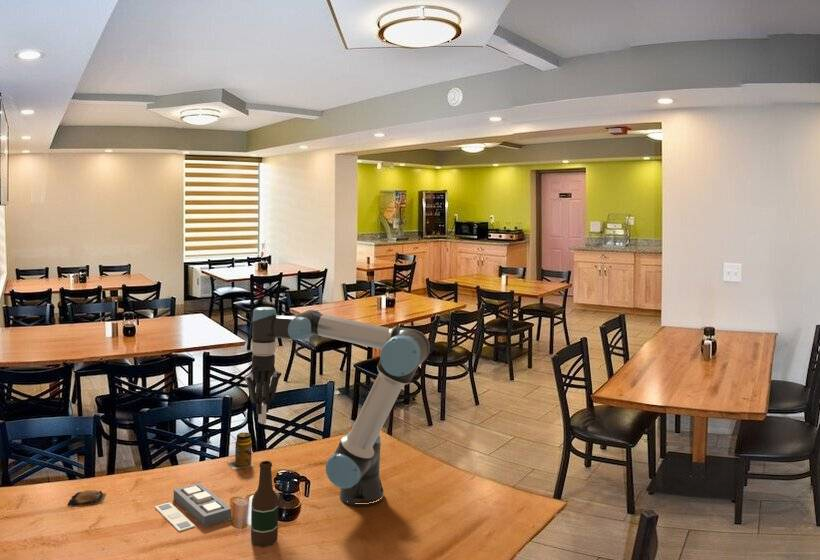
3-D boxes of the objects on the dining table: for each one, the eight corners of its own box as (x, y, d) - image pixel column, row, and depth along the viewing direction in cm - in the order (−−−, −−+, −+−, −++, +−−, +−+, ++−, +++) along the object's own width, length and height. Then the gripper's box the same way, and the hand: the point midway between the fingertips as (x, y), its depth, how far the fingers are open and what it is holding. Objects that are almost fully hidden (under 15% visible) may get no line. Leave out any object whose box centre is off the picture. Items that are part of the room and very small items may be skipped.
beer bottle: (252, 534, 189) (254, 457, 187) (279, 534, 190) (280, 457, 187) (248, 547, 181) (250, 467, 179) (275, 547, 182) (277, 467, 180)
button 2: (221, 514, 198) (221, 506, 197) (208, 518, 195) (208, 510, 194) (215, 509, 201) (215, 501, 201) (202, 513, 198) (202, 505, 198)
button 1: (201, 497, 209) (201, 490, 208) (188, 501, 206) (188, 493, 206) (195, 492, 212) (196, 485, 212) (183, 496, 209) (183, 489, 209)
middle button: (211, 503, 203) (211, 495, 203) (198, 506, 200) (198, 499, 200) (205, 498, 206) (205, 491, 206) (192, 501, 203) (192, 494, 203)
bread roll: (106, 494, 212) (106, 484, 212) (102, 505, 204) (102, 494, 204) (71, 497, 209) (71, 486, 209) (66, 508, 201) (66, 497, 201)
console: (231, 519, 198) (231, 508, 197) (204, 527, 192) (204, 516, 191) (199, 492, 215) (199, 482, 215) (173, 499, 209) (173, 489, 209)
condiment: (254, 466, 240) (255, 435, 239) (232, 470, 235) (233, 439, 234) (248, 459, 246) (248, 430, 245) (227, 463, 241) (227, 433, 240)
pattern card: (195, 526, 192) (195, 525, 192) (178, 531, 188) (179, 530, 188) (169, 503, 207) (169, 501, 206) (154, 507, 203) (154, 506, 203)
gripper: (275, 349, 216) (273, 416, 218) (240, 353, 207) (238, 423, 209) (286, 353, 210) (284, 422, 212) (251, 358, 201) (249, 429, 204)
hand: (262, 422), depth 211 cm, fingers closed
